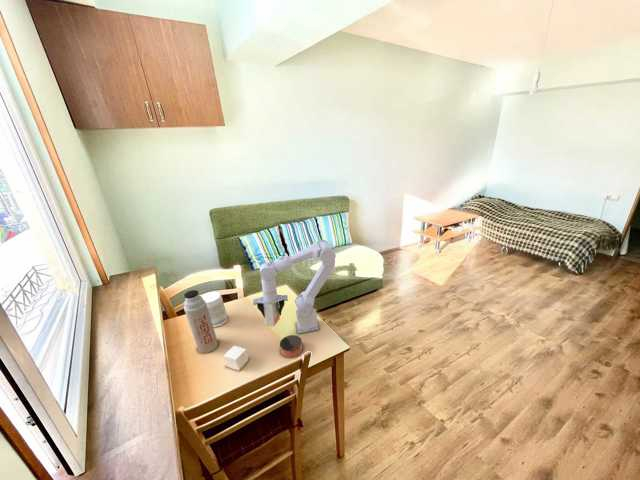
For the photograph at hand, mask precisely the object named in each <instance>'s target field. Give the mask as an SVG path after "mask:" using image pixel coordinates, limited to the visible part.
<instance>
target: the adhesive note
mask: <svg viewBox="0 0 640 480" xmlns="http://www.w3.org/2000/svg"><path fill="white" fill-rule="evenodd" d="M223 358H224V363H225V366H226V367H227V368H230V369H233V370H236V371H238V372H239V371H240V370H241V369H242V368H243V367H244V366H245V364H247V362H248V361H249V355H248V352H247V348H244V347H240V346H237V345H233V346H232V347H231V348H230V349H229V350H228V351H226V353H224V355H223Z"/></svg>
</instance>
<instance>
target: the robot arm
mask: <svg viewBox="0 0 640 480" xmlns="http://www.w3.org/2000/svg"><path fill="white" fill-rule="evenodd" d="M336 257H337V255H336V253H335V251H334V249H333V248H332V247H331V245H330V243H329V242H328V241H327V240H326V239H321V240H318V241H315V242H313V243H312V244H311V245H309V246H307V247H305V248H304V249H302V250H299V251H298V252H295V253H294V254H292V255H280V256H279V258H277V259H274V260H271V261H268V262H263V263H262V264H261V265H260V267H259V274H260V280H261V289H262V296H261V297H257V298H254V299H252V305H253V306H256V307H257V310H258V311H259V312H260V313H261V315H262V317H263V319H265V313H264V305H263V303H264V304H272V303H275V302H278V303H279V315H280V317H282V312H283V308H284V306H285V304H286V303H285V302H288V301H289V296H288V294H278V291H277V290H278V289H277V283H276V278H275V277H276V276H277V275H279V274H281V273H283V272H286V271H287V270H290V269H292V268H293V265H294V264H297V263H300V262H303V261H305V260H308V259H310V258H311V259H314V260H317V261H319V260H320V261H321V264H320V266H319V268H318V270H317V272H316V273H315V275H314V276H313V278H312V279H311V281H310V282H309V284H308V286H307V287H306V289H305V291H302V292H300V294H299V295H297V296H296V297H295V300H294V303H295V305H296V311H295V315H296V322H295V325H296V330H297V333H298V334H304V333H307V332H313V331H318V330H319V323H318V322H319V321H318V314H317V310H316V308H313V307H314V305H315V300H316V299H315V298H316V297H317V295H318V294H319V292H320V291H321V289H322V287H323V286H324V284H325V283H326V281H327V279H329V277H330V275H331V273H332V272H333V270H334V269H335V267H336Z"/></svg>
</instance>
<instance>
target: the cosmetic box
mask: <svg viewBox="0 0 640 480" xmlns="http://www.w3.org/2000/svg"><path fill="white" fill-rule="evenodd" d="M263 305H264V313H265V318H264V319H265V326H268V327H273V328H274V327H276V325H277V324H278V322H279V321H280V319H281V316H280V315H279V301H278V302H275V303H272V304H264V303H263Z"/></svg>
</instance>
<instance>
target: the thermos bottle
mask: <svg viewBox="0 0 640 480" xmlns="http://www.w3.org/2000/svg"><path fill="white" fill-rule="evenodd" d="M183 296H184V298H185V299H184V301H183V305H184V306H183V311H184V313H185V316H186V318H187V322H188V325H189V327H190V330H191V333H192V336H193V339H194V342H195V346H196V348H197V350H198V352H199V353H201V354H207V353H210V352H212V351H214V350H215V349H216V348H217V347H218V346H219V341H218V339H217V336H216V331H215V327H213V325H212V321H211V318H210V315H209V312H208V308H207V305H206V301H205V300H203V298H202V297H201V296H202V295H200V294H199V291H198V290H197V289H192V290H188V291H186V292H184V294H183Z"/></svg>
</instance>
